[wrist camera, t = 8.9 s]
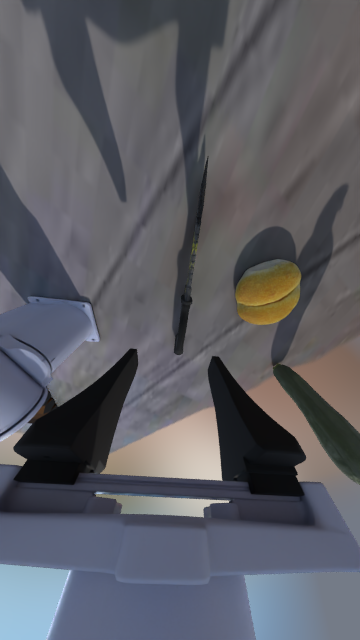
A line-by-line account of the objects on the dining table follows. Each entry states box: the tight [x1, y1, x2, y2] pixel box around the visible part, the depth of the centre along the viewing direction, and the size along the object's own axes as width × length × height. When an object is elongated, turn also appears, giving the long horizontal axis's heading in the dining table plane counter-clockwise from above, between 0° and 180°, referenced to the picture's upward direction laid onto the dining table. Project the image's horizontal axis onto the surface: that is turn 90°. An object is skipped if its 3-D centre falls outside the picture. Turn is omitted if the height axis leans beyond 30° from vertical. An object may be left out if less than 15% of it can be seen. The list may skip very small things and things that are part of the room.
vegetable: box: [273, 364, 360, 485], centre depth 18 cm, size 4×4×20 cm
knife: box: [174, 158, 208, 355], centre depth 18 cm, size 23×2×5 cm, turn 173°
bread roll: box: [235, 259, 301, 325], centre depth 18 cm, size 8×9×4 cm
